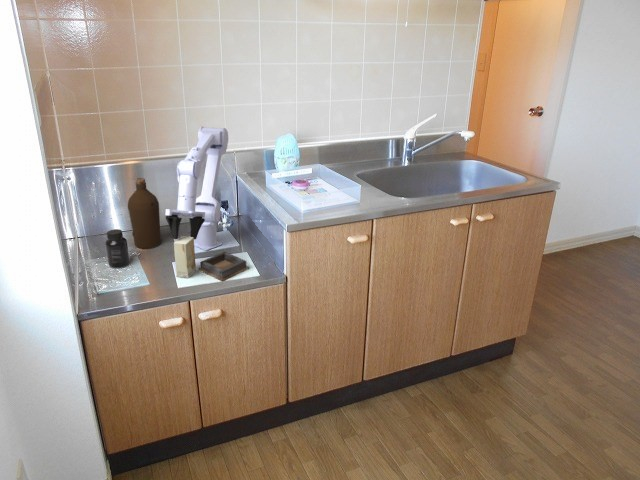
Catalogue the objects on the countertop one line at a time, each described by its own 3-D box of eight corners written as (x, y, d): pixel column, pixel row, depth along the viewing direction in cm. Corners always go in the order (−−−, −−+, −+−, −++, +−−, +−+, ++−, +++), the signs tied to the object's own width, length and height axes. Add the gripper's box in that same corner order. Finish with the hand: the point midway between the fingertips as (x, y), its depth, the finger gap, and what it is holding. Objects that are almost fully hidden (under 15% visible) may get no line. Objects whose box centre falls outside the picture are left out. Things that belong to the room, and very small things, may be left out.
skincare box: (188, 278, 161) (185, 244, 156) (176, 276, 162) (172, 243, 157) (196, 269, 167) (194, 236, 162) (184, 268, 168) (181, 235, 163)
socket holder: (198, 269, 167) (197, 261, 166) (225, 258, 176) (224, 250, 174) (222, 281, 160) (221, 273, 159) (248, 268, 169) (248, 260, 168)
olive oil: (166, 238, 189) (160, 175, 178) (157, 250, 179) (149, 184, 169) (139, 237, 189) (131, 174, 179) (128, 249, 180) (119, 183, 169)
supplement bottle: (134, 261, 171) (129, 229, 166) (120, 270, 165) (116, 237, 160) (117, 258, 173) (113, 226, 168) (104, 266, 167) (98, 234, 162)
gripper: (176, 195, 153) (173, 239, 154) (212, 199, 165) (209, 240, 165) (162, 194, 157) (159, 237, 158) (198, 198, 169) (195, 238, 169)
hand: (184, 238), depth 162 cm, fingers open, 7 cm apart
